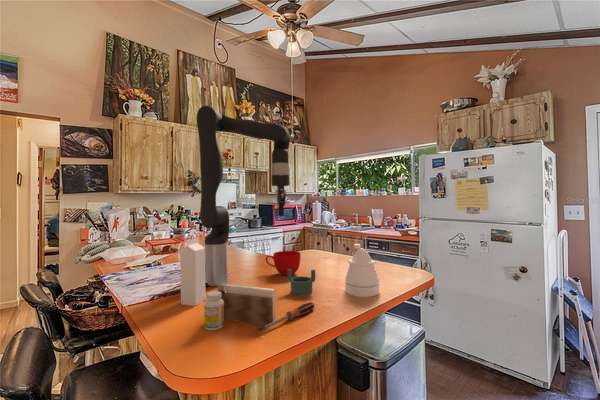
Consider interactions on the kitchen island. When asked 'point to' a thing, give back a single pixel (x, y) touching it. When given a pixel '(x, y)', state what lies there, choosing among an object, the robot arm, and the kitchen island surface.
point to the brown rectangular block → (247, 308)
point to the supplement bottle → (214, 311)
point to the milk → (192, 273)
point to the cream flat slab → (249, 292)
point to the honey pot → (361, 275)
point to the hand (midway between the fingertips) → (280, 215)
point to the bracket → (301, 284)
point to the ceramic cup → (285, 261)
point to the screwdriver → (292, 314)
